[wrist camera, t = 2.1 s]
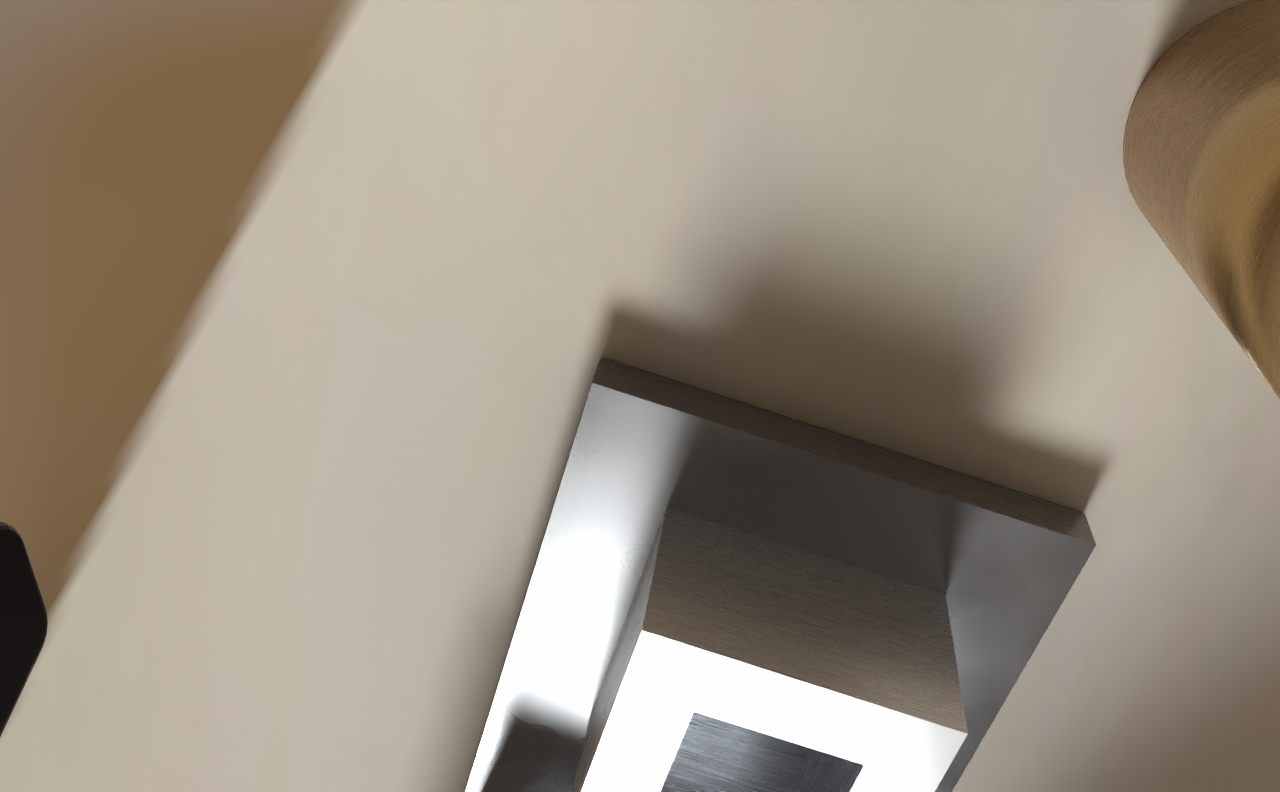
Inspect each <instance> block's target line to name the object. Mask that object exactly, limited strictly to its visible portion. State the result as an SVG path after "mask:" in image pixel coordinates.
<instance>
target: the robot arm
mask: <svg viewBox="0 0 1280 792" xmlns="http://www.w3.org/2000/svg"><path fill="white" fill-rule="evenodd" d="M47 624H48V622H47V611H46V607H45V604H44V602H43V598H42V595H41V592H40V589H39V586H38V583H37V580H36V577H35V574H34V571H33V568H32V565H31V562H30V559H29V556H28V553H27V550H26V547H25V544H24V541H23V539H22V537H21V535H20V534H19V533H18V531H17V530H16V529H15V528H14V527H13V526H11V525H9V524H7V523H4V522H0V736H1V734H2V732H3V730H4V728H5V726H6V724H7V721H8V719H9V717H10V715H11V713H12V711H13V709H14V707H15V705H16V702H17V700H18V698H19V696H20V694H21V692H22V690H23V688H24V685H25V683H26V681H27V679H28V677H29V675H30V673H31V671H32V669H33V666H34V664H35V662H36V660H37V658H38V656H39V654H40V652H41V649H42V647H43V644H44V641H45V637H46V633H47Z"/></svg>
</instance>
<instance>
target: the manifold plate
mask: <svg viewBox="0 0 1280 792" xmlns="http://www.w3.org/2000/svg"><path fill="white" fill-rule="evenodd" d="M1095 546H1096V543H1095V541H1094V538H1093V535H1092V532H1091V530H1090V527H1089V524H1088V521H1087V519H1086V516H1085V513H1082V512H1079V511H1076V510H1073V509H1070V508H1067V507H1064V506H1061V505H1057V504H1054V503H1051V502H1048V501H1045V500H1042V499H1039V498H1036V497H1033V496H1030V495H1026V494H1023V493H1020V492H1017V491H1014V490H1011V489H1008V488H1005V487H1002V486H998V485H995V484H992V483H989V482H986V481H983V480H980V479H977V478H974V477H971V476H967V475H964V474H961V473H958V472H955V471H952V470H949V469H946V468H943V467H940V466H936V465H933V464H930V463H927V462H924V461H921V460H918V459H915V458H912V457H908V456H905V455H902V454H899V453H896V452H893V451H890V450H887V449H884V448H881V447H877V446H874V445H871V444H868V443H865V442H862V441H859V440H856V439H853V438H850V437H846V436H843V435H840V434H837V433H834V432H831V431H828V430H825V429H822V428H818V427H815V426H812V425H809V424H806V423H803V422H800V421H797V420H794V419H791V418H787V417H784V416H781V415H778V414H775V413H772V412H769V411H766V410H763V409H760V408H756V407H753V406H750V405H747V404H744V403H741V402H738V401H735V400H732V399H728V398H725V397H722V396H719V395H716V394H713V393H710V392H707V391H704V390H701V389H697V388H694V387H691V386H688V385H685V384H682V383H679V382H676V381H673V380H670V379H666V378H663V377H660V376H657V375H654V374H651V373H648V372H645V371H642V370H638V369H635V368H632V367H629V366H626V365H623V364H620V363H617V362H614V361H611V360H607V359H604V358H601V360H600V362H599V365H598V368H597V371H596V373H595V376H594V379H593V382H592V385H591V388H590V391H589V394H588V398H587V401H586V404H585V407H584V411H583V414H582V417H581V420H580V423H579V427H578V430H577V433H576V436H575V439H574V443H573V446H572V449H571V452H570V456H569V459H568V462H567V465H566V468H565V472H564V475H563V478H562V481H561V485H560V488H559V491H558V494H557V497H556V501H555V504H554V507H553V510H552V513H551V517H550V520H549V523H548V526H547V530H546V533H545V536H544V539H543V542H542V546H541V549H540V552H539V555H538V559H537V562H536V565H535V568H534V571H533V575H532V578H531V581H530V584H529V587H528V591H527V594H526V597H525V600H524V604H523V607H522V610H521V613H520V616H519V620H518V623H517V626H516V629H515V633H514V636H513V639H512V642H511V645H510V649H509V652H508V655H507V658H506V662H505V665H504V668H503V671H502V674H501V678H500V681H499V684H498V687H497V690H496V694H495V697H494V700H493V703H492V707H491V710H490V713H489V716H488V719H487V723H486V726H485V729H484V732H483V736H482V739H481V742H480V745H479V748H478V752H477V755H476V758H475V761H474V764H473V768H472V771H471V774H470V777H469V781H468V784H467V787H466V790H465V792H952V790H953V789H954V787H955V785H956V783H957V782H958V780H959V778H960V777H961V775H962V773H963V772H964V770H965V768H966V766H967V765H968V763H969V761H970V760H971V758H972V756H973V754H974V753H975V751H976V749H977V748H978V746H979V744H980V742H981V741H982V739H983V737H984V736H985V734H986V732H987V730H988V729H989V727H990V725H991V724H992V722H993V720H994V719H995V717H996V715H997V713H998V712H999V710H1000V708H1001V707H1002V705H1003V703H1004V701H1005V700H1006V698H1007V696H1008V695H1009V693H1010V691H1011V689H1012V688H1013V686H1014V684H1015V683H1016V681H1017V679H1018V677H1019V676H1020V674H1021V672H1022V671H1023V669H1024V667H1025V666H1026V664H1027V662H1028V660H1029V659H1030V657H1031V655H1032V654H1033V652H1034V650H1035V648H1036V647H1037V645H1038V643H1039V642H1040V640H1041V638H1042V636H1043V635H1044V633H1045V631H1046V630H1047V628H1048V626H1049V624H1050V623H1051V621H1052V619H1053V618H1054V616H1055V614H1056V613H1057V611H1058V609H1059V607H1060V606H1061V604H1062V602H1063V601H1064V599H1065V597H1066V595H1067V594H1068V592H1069V590H1070V589H1071V587H1072V585H1073V583H1074V582H1075V580H1076V578H1077V577H1078V575H1079V573H1080V571H1081V570H1082V568H1083V566H1084V565H1085V563H1086V561H1087V560H1088V558H1089V556H1090V554H1091V553H1092V551H1093V549H1094V548H1095Z"/></svg>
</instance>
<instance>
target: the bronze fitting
mask: <svg viewBox="0 0 1280 792" xmlns="http://www.w3.org/2000/svg"><path fill="white" fill-rule="evenodd" d="M1123 161H1124V168H1125V175H1126V179H1127V182H1128V185H1129V189H1130V192H1131V194H1132V196H1133V198H1134V200H1135V202H1136V204H1137V206H1138V207H1139V209H1140V210H1141V212H1142V213H1143V215H1144V216H1145V218H1146V219H1147V220H1148V222H1149V223H1150V224H1151V226H1152V227H1153V228H1154V230H1155V231H1156V232H1157V234H1158V235H1159V236H1160V238H1161V239H1162V241H1163V242H1164V243H1165V245H1166V246H1167V247H1168V249H1169V250H1170V251H1171V253H1172V254H1173V255H1174V257H1175V258H1176V259H1177V261H1178V262H1179V264H1180V265H1181V266H1182V268H1183V269H1184V270H1185V272H1186V273H1187V274H1188V276H1189V277H1190V278H1191V280H1192V281H1193V282H1194V284H1195V285H1196V287H1197V288H1198V289H1199V291H1200V292H1201V293H1202V295H1203V296H1204V297H1205V299H1206V300H1207V301H1208V303H1209V304H1210V306H1211V307H1212V308H1213V310H1214V311H1215V312H1216V314H1217V315H1218V316H1219V318H1220V319H1221V320H1222V322H1223V323H1224V324H1225V326H1226V327H1227V329H1228V330H1229V331H1230V333H1231V334H1232V335H1233V337H1234V338H1235V339H1236V341H1237V342H1238V343H1239V345H1240V346H1241V347H1242V349H1243V350H1244V352H1245V353H1246V354H1247V356H1248V357H1249V358H1250V360H1251V361H1252V362H1253V364H1254V365H1255V366H1256V368H1257V369H1258V370H1259V372H1260V373H1261V375H1262V376H1263V377H1264V379H1265V380H1266V381H1267V383H1268V384H1269V385H1270V387H1271V388H1272V389H1273V391H1274V392H1275V393H1276V395H1277V396H1278V398H1279V399H1280V0H1255V1H1251V2H1248V3H1244V4H1240V5H1238V6H1235V7H1233V8H1230V9H1228V10H1225V11H1223V12H1221V13H1219V14H1217V15H1215V16H1213V17H1211V18H1209V19H1208V20H1206V21H1204V22H1202V23H1201V24H1199V25H1198V26H1197V27H1195V28H1194V29H1192V30H1191V31H1189V32H1188V33H1186V34H1185V35H1184V36H1183V37H1182V38H1181V39H1180V40H1178V41H1177V42H1176V43H1175V44H1174V45H1173V46H1171V48H1170V49H1169V50H1168V51H1167V52H1166V53H1165V54H1164V55H1163V56H1162V57H1161V58H1160V59H1159V60H1158V62H1157V63H1156V64H1155V66H1154V67H1153V69H1152V70H1151V71H1150V73H1149V74H1148V75H1147V77H1146V79H1145V80H1144V82H1143V84H1142V86H1141V87H1140V89H1139V91H1138V93H1137V95H1136V97H1135V100H1134V102H1133V104H1132V107H1131V109H1130V113H1129V116H1128V120H1127V124H1126V128H1125V135H1124V142H1123Z"/></svg>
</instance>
